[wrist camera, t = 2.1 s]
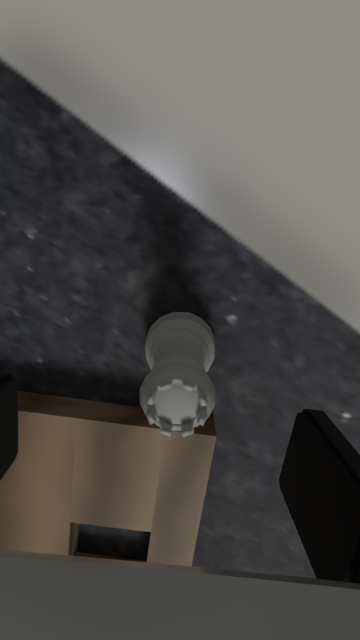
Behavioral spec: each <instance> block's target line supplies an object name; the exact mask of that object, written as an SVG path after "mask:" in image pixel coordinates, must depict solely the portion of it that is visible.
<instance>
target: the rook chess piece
mask: <svg viewBox="0 0 360 640" xmlns="http://www.w3.org/2000/svg"><path fill="white" fill-rule="evenodd" d="M145 357H146V359H147V362H148V364H149V366H150V368H151V372H150V373H149V374H148V375H147V376H146V377H145V379H144V381H143V383H142V386H141V388H140V405H141V407H142V409H143V411H144V413H145V415H146V417H147V419H148V421H149V423H150V425H151V424H153V423H154V424H155V425H157V426H160V430H159V433H161V434H164V435H166V436H169V437H171V432H172V431H181V432H182V437H185V436H188V435H191V434H194V427H197V426H199V425H202V426H203V425H204V423H205V421H206V419H207V418H209V416H210V414H211V412H212V410H213V408H214V406H215V397H216V391H215V388H214V386H213V383H212V381H211V379H210V378H209V377H208V376H207V373H206V372H207V371H208V370H209V368H210V366H211V364H212V362H213V360H214V358H215V338H214V336H213V333H212V331H211V328H210V327H209V326H208V325H207V324H206V323H205V321H204V320H203V319H202V318H200V317H198V316H196V315H193V314H191V313H189V312H172V313H169V314H167V315H164V316H162V317H160V318H159V319H158V320H157V321H156V322H155V323H154V324H153V325H152V326H151V327H150V329H149V332H148V334H147V336H146V342H145Z"/></svg>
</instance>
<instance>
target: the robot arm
mask: <svg viewBox="0 0 360 640" xmlns="http://www.w3.org/2000/svg"><path fill="white" fill-rule="evenodd" d="M17 453H18V383H17V380H16V379H13V377H12V375H11V374H6V373H0V480H1V479H2V478H3V476H4V475H5V473H6V472H7V471H8V469H9V468H10V466H11V465H12V464H13V462H14V461H15V459H16V457H17ZM279 484H280V489H281V492H282V494H283V497H284V499H285V502H286V504H287V506H288V509H289V511H290V514H291V516H292V519H293V521H294V524H295V526H296V529H297V531H298V534H299V536H300V539H301V541H302V543H303V546H304V548H305V551H306V553H307V556H308V558H309V561H310V563H311V566H312V568H313V571H314V573H315V576H316V578H317V579H314V578H304V577H294V576H283V575H273V574H263V573H253V572H243V571H233V570H223V569H213V568H202V567H191V566H180V565H170V564H159V563H148V562H137V561H126V560H115V559H104V558H93V557H82V556H71V555H59V554H47V553H36V552H24V551H12V550H0V640H360V455H359V454H358V453H357V451H356V450H355V449H354V448H353V447H352V445H351V444H350V443H349V442H348V440H347V439H346V438H345V437H344V436H343V434H342V433H341V432H340V431H339V430H338V428H337V427H336V426H335V425H334V424H333V422H332V421H331V420H330V419H329V417H328V416H327V415H326V414H325V413H324V412H323V411H319V410H311V409H304V410H303V411H302V413H300V412H299V413H298V414H297V416H296V419H295V423H294V427H293V430H292V434H291V437H290V441H289V445H288V448H287V452H286V456H285V459H284V463H283V466H282V470H281V474H280V478H279Z"/></svg>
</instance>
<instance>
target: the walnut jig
mask: <svg viewBox="0 0 360 640" xmlns="http://www.w3.org/2000/svg"><path fill="white" fill-rule="evenodd" d="M159 430H160V426H157V425H155V424H154V423H153V424H151V425H150V423H149V421H148V419H147V417H146V415H145V413H144V411H143V409H142V407H137V406H129V405H122V404H114V403H107V402H99V401H91V400H84V399H76V398H69V397H61V396H53V395H46V394H38V393H31V392H23V391H18V453H17V457H16V459H15V461H14V462H13V464H12V465H11V466H10V468H9V469H8V471H7V472H6V473H5V475H4V476H3V478H2V479H1V480H0V550H12V551H24V552H36V553H47V554H59V555H71V556H82V557H93V558H104V559H115V560H126V561H137V562H148V563H159V564H170V565H180V566H191V565H192V560H193V555H194V550H195V544H196V539H197V534H198V529H199V524H200V519H201V514H202V508H203V503H204V498H205V493H206V488H207V483H208V478H209V472H210V467H211V462H212V457H213V452H214V447H215V442H216V430H215V424H214V418H213V416H209V418H207V419H206V421H205V423H204V425H203V426H202V425H199V426H197V427H194V434H191V435H188V436H185V437H182V432H181V431H172V432H171V437H169V436H166V435H164V434H161V433H159ZM79 523H81V524H89V525H97V526H105V527H113V528H121V529H129V530H137V531H145V532H150V538H149V545H148V552H147V559H146V560H139V559H130V558H122V557H114V556H106V555H98V554H90V553H81V552H77V550H78V534H79Z"/></svg>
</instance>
